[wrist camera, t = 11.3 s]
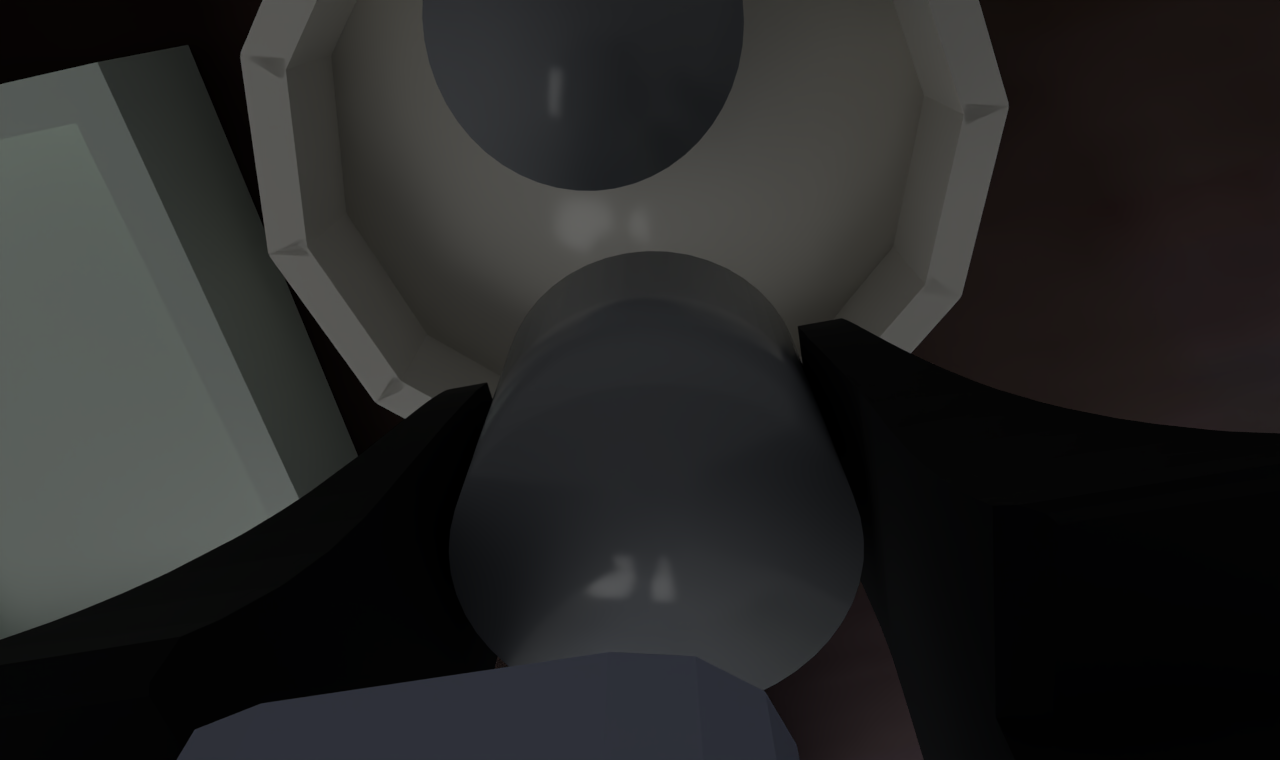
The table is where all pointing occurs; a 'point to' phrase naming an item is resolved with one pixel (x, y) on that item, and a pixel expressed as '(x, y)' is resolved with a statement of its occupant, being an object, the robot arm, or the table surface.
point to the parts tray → (139, 341)
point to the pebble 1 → (584, 81)
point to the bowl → (626, 216)
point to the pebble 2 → (656, 480)
